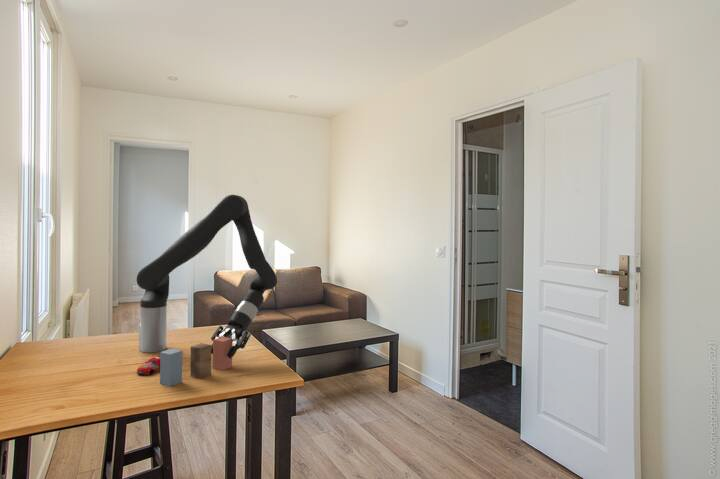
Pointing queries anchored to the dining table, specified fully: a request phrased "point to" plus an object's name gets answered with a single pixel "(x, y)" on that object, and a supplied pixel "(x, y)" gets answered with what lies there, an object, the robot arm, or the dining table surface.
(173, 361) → the slate block
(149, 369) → the race car
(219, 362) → the red block
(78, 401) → the dining table surface
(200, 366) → the walnut block
